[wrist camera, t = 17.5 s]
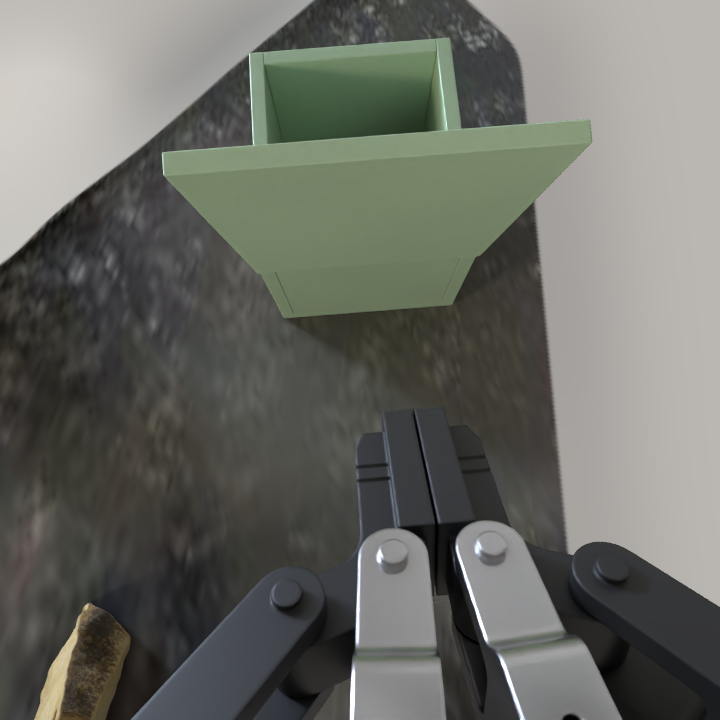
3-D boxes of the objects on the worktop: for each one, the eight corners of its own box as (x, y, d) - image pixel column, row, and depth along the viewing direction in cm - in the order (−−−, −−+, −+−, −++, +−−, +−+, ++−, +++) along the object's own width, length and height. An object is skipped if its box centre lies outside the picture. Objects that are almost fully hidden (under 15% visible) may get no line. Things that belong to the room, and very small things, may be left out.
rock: (94, 842, 37) (186, 717, 37) (-46, 870, 30) (65, 720, 31) (61, 703, 44) (137, 600, 44) (-57, 703, 38) (32, 584, 38)
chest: (274, 145, 49) (248, 52, 39) (431, 132, 50) (449, 37, 39) (283, 318, 46) (258, 270, 35) (452, 305, 46) (478, 252, 36)
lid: (161, 151, 18) (162, 175, 18) (590, 118, 18) (593, 142, 18) (256, 261, 35) (257, 273, 35) (478, 243, 35) (480, 256, 35)
